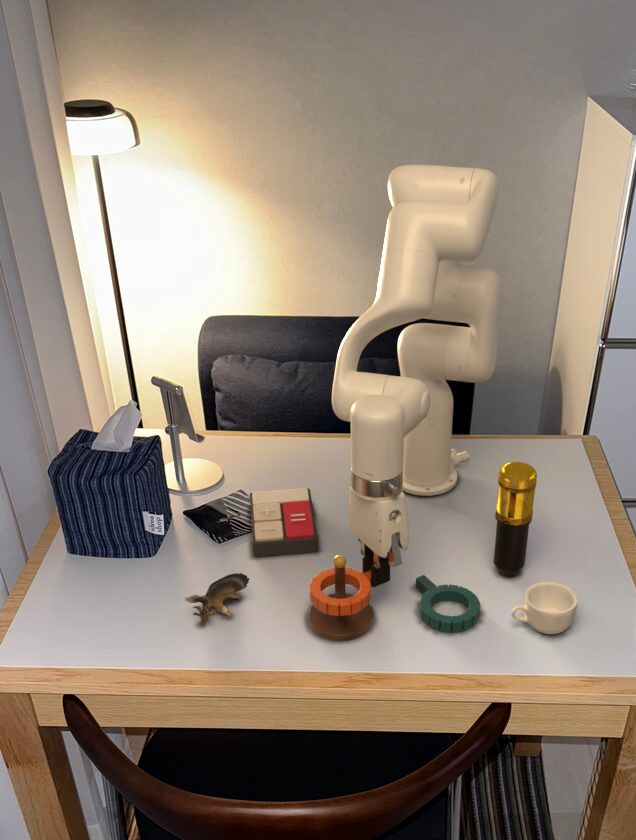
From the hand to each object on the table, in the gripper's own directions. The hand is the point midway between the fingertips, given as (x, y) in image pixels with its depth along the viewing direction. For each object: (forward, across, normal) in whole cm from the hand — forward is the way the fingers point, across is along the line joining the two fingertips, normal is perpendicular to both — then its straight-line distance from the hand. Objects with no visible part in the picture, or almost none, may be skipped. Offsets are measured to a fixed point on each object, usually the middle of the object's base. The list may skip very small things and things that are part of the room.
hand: (376, 578), depth 141 cm
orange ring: (+1, 0, +5) cm, 5 cm away
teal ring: (+5, -6, -9) cm, 12 cm away
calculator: (+5, +26, +2) cm, 27 cm away
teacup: (+5, -18, -19) cm, 26 cm away
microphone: (+5, -6, -27) cm, 28 cm away
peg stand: (+5, 0, +6) cm, 8 cm away
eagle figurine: (+6, +12, +21) cm, 25 cm away
